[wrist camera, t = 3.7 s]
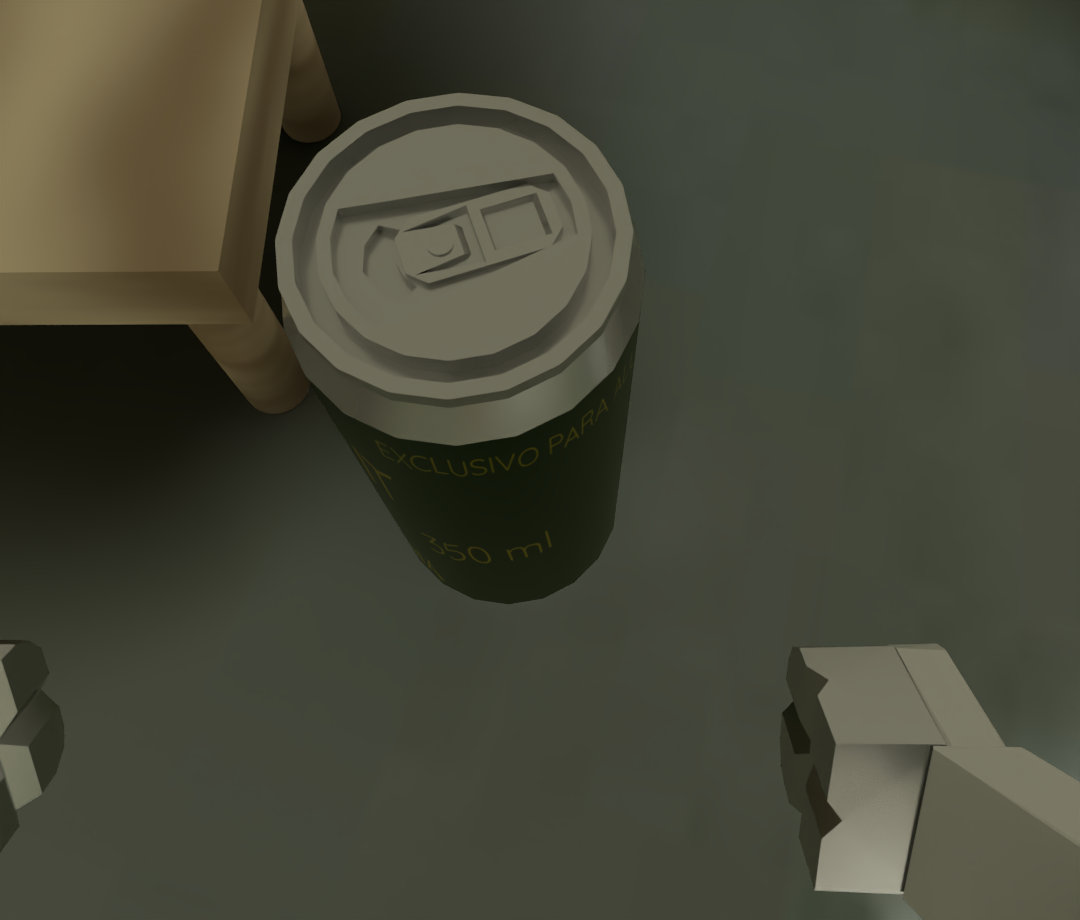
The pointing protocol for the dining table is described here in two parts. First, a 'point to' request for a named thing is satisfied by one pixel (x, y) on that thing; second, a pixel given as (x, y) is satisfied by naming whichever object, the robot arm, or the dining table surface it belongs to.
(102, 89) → the footstool
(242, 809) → the dining table surface
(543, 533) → the beer can
